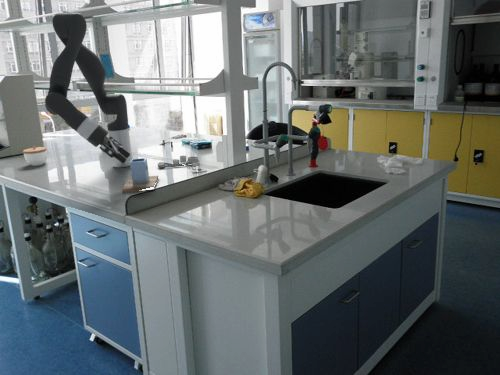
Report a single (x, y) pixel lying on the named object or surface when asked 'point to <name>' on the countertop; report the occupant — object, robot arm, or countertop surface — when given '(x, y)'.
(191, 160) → the pulley system
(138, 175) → the blue box
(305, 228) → the countertop surface
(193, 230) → the countertop surface
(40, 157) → the lidded jar
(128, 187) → the post base
